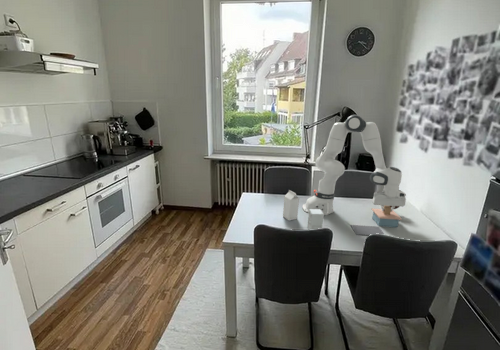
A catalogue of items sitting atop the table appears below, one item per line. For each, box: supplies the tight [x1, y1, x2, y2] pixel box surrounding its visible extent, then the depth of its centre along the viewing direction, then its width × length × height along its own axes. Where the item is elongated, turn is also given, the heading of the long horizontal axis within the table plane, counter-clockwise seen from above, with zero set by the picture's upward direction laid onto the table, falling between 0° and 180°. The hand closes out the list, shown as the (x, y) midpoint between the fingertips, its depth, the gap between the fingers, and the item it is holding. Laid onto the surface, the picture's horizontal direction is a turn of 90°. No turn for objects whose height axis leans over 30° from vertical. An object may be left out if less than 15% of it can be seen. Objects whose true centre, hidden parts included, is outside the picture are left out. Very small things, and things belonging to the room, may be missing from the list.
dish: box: [371, 211, 400, 228], centre depth 187 cm, size 12×12×6 cm
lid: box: [371, 205, 403, 221], centre depth 185 cm, size 14×14×6 cm
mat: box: [350, 224, 385, 237], centre depth 175 cm, size 18×12×1 cm, turn 87°
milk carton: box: [282, 189, 300, 221], centre depth 186 cm, size 7×7×19 cm
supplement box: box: [307, 209, 325, 230], centre depth 172 cm, size 7×7×13 cm
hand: (386, 211), depth 186 cm, fingers closed on lid, 3 cm apart
